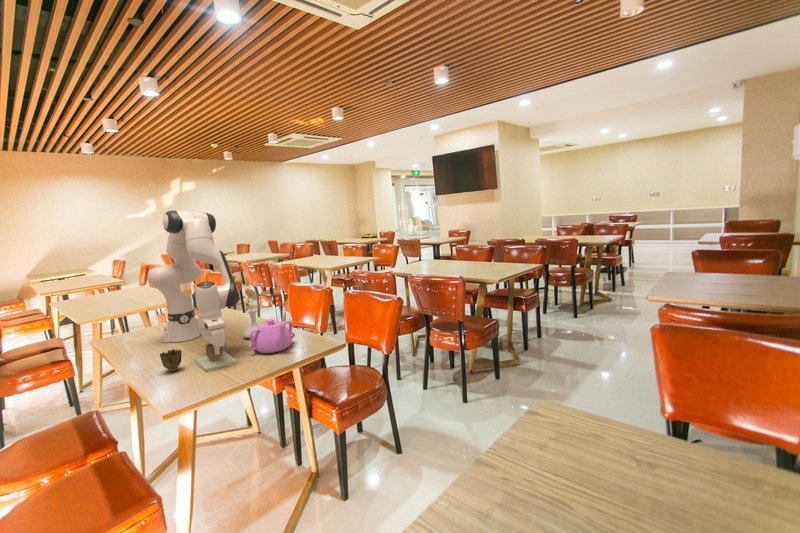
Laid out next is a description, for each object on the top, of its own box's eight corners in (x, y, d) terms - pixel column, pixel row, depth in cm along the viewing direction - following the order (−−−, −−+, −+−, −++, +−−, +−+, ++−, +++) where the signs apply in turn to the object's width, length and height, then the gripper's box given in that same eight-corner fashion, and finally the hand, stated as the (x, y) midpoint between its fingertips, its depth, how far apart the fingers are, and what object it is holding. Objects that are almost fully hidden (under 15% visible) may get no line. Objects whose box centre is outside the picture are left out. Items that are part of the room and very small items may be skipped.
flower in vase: (270, 336, 189) (265, 288, 185) (247, 342, 182) (241, 292, 178) (261, 330, 199) (256, 285, 195) (239, 336, 192) (233, 288, 188)
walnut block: (206, 356, 157) (205, 344, 157) (219, 352, 161) (218, 341, 160) (210, 359, 154) (208, 347, 153) (223, 355, 157) (221, 344, 156)
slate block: (211, 352, 170) (210, 342, 169) (223, 349, 173) (222, 339, 172) (215, 355, 166) (213, 344, 165) (226, 352, 170) (225, 341, 169)
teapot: (264, 363, 154) (260, 331, 152) (241, 351, 169) (238, 322, 167) (309, 347, 169) (307, 318, 167) (285, 338, 184) (283, 311, 182)
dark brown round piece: (168, 376, 146) (165, 356, 144) (158, 372, 149) (156, 353, 148) (187, 369, 152) (184, 350, 151) (177, 366, 156) (175, 347, 155)
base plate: (195, 361, 159) (194, 359, 159) (224, 353, 167) (224, 351, 167) (205, 372, 148) (205, 369, 147) (236, 362, 156) (236, 360, 155)
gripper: (195, 318, 161) (199, 348, 163) (209, 327, 145) (213, 360, 147) (211, 314, 165) (215, 344, 167) (226, 323, 150) (230, 356, 152)
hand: (214, 352), depth 157 cm, fingers closed on walnut block, 5 cm apart
